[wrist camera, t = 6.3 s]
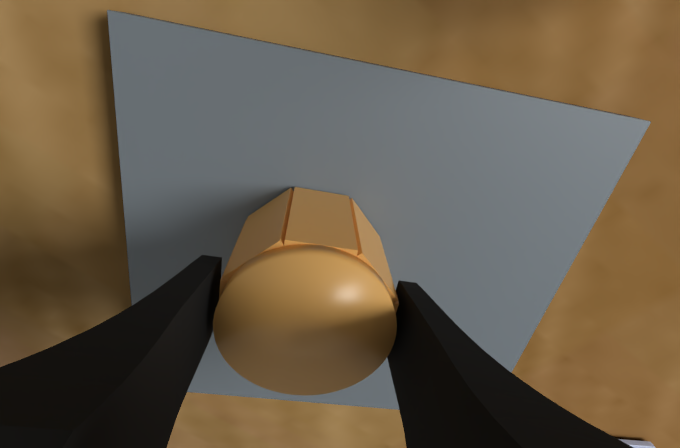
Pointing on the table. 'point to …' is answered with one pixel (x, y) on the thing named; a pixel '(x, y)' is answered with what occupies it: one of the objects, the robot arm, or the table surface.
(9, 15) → the table surface
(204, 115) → the board
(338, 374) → the cap
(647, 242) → the table surface
